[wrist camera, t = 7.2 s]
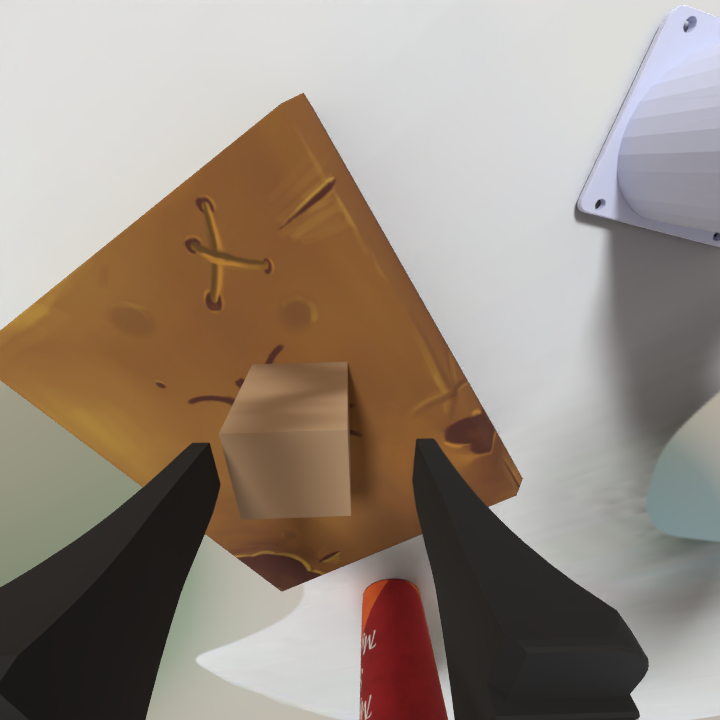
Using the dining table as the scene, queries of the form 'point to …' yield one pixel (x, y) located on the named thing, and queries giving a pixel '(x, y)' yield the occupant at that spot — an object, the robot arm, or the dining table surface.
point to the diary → (258, 343)
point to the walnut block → (290, 441)
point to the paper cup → (397, 656)
